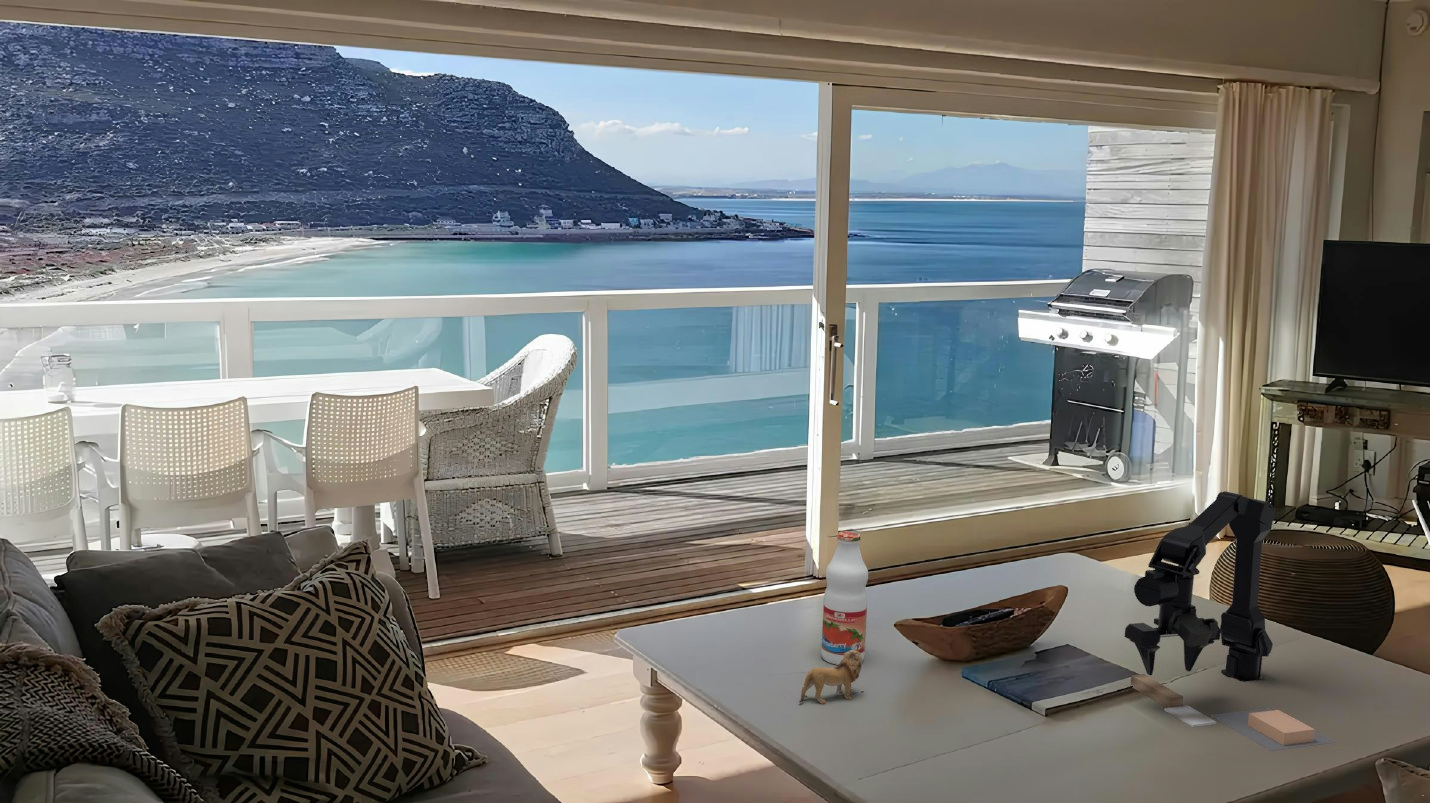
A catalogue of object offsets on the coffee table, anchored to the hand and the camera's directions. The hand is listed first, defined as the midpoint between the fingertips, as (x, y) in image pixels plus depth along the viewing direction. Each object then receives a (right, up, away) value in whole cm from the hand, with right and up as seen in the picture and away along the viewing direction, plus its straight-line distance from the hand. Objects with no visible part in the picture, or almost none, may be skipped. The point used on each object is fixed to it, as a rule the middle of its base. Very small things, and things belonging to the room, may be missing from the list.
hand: (1168, 672), depth 231 cm
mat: (+16, -9, -9) cm, 20 cm away
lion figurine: (-68, -5, 0) cm, 68 cm away
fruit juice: (-63, -2, +21) cm, 66 cm away
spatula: (0, -7, 0) cm, 7 cm away
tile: (+15, -7, -8) cm, 18 cm away
